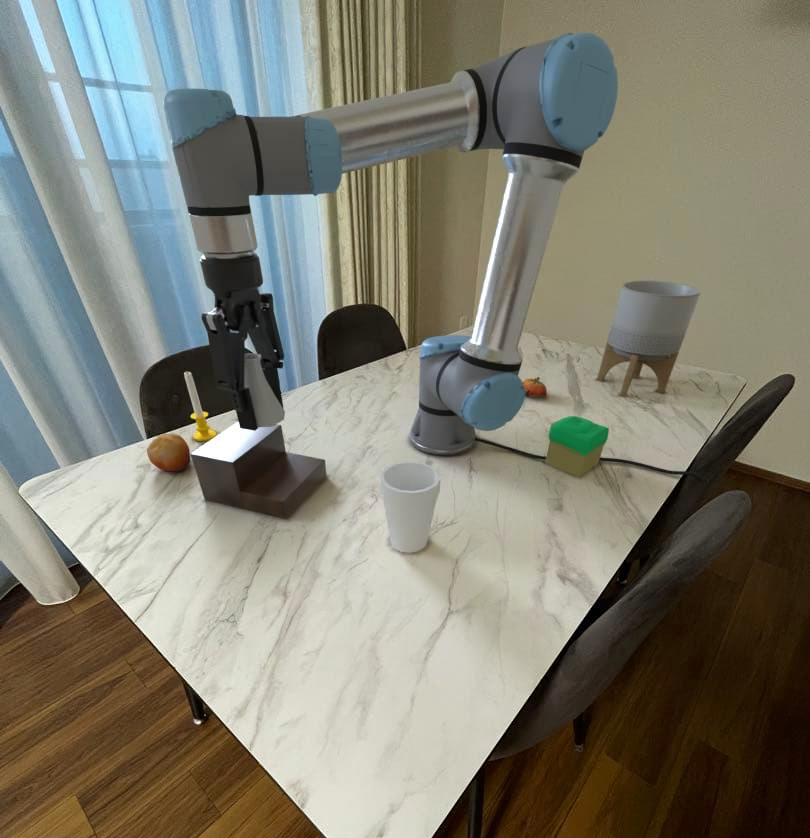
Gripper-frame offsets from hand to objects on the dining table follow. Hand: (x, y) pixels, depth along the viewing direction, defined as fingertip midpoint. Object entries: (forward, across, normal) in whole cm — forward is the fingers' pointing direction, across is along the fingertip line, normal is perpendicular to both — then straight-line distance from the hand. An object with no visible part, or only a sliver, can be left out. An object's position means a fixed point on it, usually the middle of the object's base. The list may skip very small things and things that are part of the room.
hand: (262, 417), depth 76 cm
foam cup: (+19, 0, +25) cm, 32 cm away
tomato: (+20, -72, +37) cm, 84 cm away
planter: (+20, -90, +64) cm, 112 cm away
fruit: (+19, -6, -30) cm, 36 cm away
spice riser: (+19, -6, -7) cm, 21 cm away
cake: (+20, -37, +50) cm, 65 cm away
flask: (0, 0, 0) cm, 0 cm away
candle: (+19, -21, -33) cm, 43 cm away
